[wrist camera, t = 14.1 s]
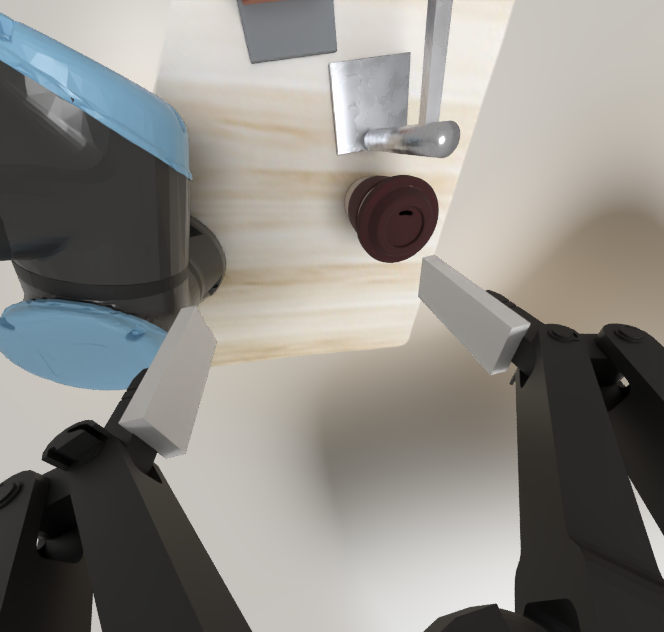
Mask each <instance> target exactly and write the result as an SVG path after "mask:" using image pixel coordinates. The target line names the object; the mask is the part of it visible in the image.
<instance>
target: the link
mask: <svg viewBox="0 0 664 632" xmlns="http://www.w3.org/2000/svg"><path fill="white" fill-rule="evenodd" d="M275 1H284V0H242V2H243V5H249V4H258V3H266V2H275Z"/></svg>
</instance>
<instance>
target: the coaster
mask: <svg viewBox="0 0 664 632" xmlns="http://www.w3.org/2000/svg"><path fill="white" fill-rule="evenodd" d="M237 3H238V7H239V11H240V16H241V20H242V24H243V29H244V33H245V37H246V42H247V46H248V50H249V54H250V59H251V63H259V62H267V61H274V60H282V59H289V58H296V57H304V56H311V55H319V54H326V53H333V52H336V51H337V42H336V30H335V17H334V4H333V0H284V1H275V2H266V3H258V4H249V5H243V2H242V0H237Z"/></svg>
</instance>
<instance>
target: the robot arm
mask: <svg viewBox="0 0 664 632" xmlns="http://www.w3.org/2000/svg"><path fill="white" fill-rule="evenodd" d="M192 177H193V176H192V173H191V172H190V169H189V143H188V132H187V129H186V126H185V124H184V122H183V120H182V118H181V117H180V115H179V114H178V113H177V111H176V110H175V109H174V108H173V107H172V106H171V105H169V104H168V103H167V102H166V101H164V100H163V99H161V98H159V97H158V96H156V95H154V94H153V93H151V92H149V91H148V90H146V89H145V88H143V87H141V86H139V85H138V84H136V83H134V82H132V81H130V80H129V79H127V78H125V77H123V76H122V75H120V74H118V73H116V72H114V71H112V70H111V69H109V68H107V67H105V66H103V65H101V64H99V63H98V62H96V61H94V60H92V59H90V58H88V57H87V56H84V55H83V54H81V53H79V52H77V51H75V50H73V49H71V48H69V47H67V46H66V45H64V44H62V43H60V42H58V41H56V40H54V39H52V38H50V37H49V36H47V35H45V34H43V33H41V32H39V31H37V30H34V29H33V28H31V27H29V26H27V25H25V24H23V23H20V22H17V21H14V20H12V19H11V18H9V17H8V16H6V15H4V14H2V13H0V261H5V260H11V261H12V263H13V266H14V268H15V271H16V273H17V275H18V279H19V281H20V283H21V286H22V288H23V291H24V299H23V301H21V302H19V303H17V304H13V305H11V306H9V307H7V308H6V309H5V310H4V312H3V313H2V316H1V318H0V351H1V352H2V353H3V354H4V355H5V356H6V358H8V359H9V360H10V361H11V362H13V363H14V364H16V365H17V366H19V367H21V368H22V369H24V370H26V371H28V372H30V373H32V374H34V375H37V376H39V377H42V378H45V379H49V380H52V381H54V382H57V383H60V384H64V385H69V386H73V387H78V388H84V389H92V390H123V389H127V392H125V394H124V395H123V397H122V401H120V402H119V404H118V405H117V407H116V409H115V411H114V412H113V414H112V415H111V417H110V419H109V421H108V423H107V424H106V426H105V427H104V428H103V427H101V426H100V425H98V424H97V423H95V422H94V421H93V420H85V421H81V422H78V423H76V424H74V425H72V426H70V427H68V428H67V429H65V430H64V431H63V432H61V433H60V434H59V435H57V436H56V437H55V438H54V439H53V440H52V441H51V442H50V443H49V444H48V446H47V448H46V449H45V451H44V452H43V455H42V460H43V461H45V462H47V463H49V464H51V465H53V466H55V467H57V468H55V469H53V470H51V471H49V472H47V473H45V474H43V475H41V474H39V473H36V472H34V471H31V470H28V471H22V472H20V473H18V474H15V475H13V476H11V477H10V478H8V479H7V480H5V481H4V482H2V483H1V484H0V632H91V617H92V600H93V599H92V598H93V594H94V598H95V603H96V607H97V611H98V616H99V619H100V624H101V628H102V632H252V631H251V629H250V627H249V626H248V623H247V622H246V620H245V618H244V616H243V615H242V613H241V611H240V609H239V608H238V606H237V604H236V602H235V601H234V599H233V597H232V595H231V593H230V592H229V590H228V588H227V586H226V585H225V583H224V581H223V579H222V578H221V576H220V574H219V573H218V571H217V569H216V567H215V565H214V564H213V562H212V560H211V558H210V557H209V555H208V553H207V551H206V550H205V548H204V546H203V544H202V542H201V541H200V539H199V538H198V536H197V534H196V532H195V530H194V528H193V527H192V525H191V523H190V521H189V520H188V518H187V516H186V514H185V513H184V511H183V509H182V507H181V506H180V504H179V502H178V500H177V498H176V497H175V495H174V493H173V491H172V490H171V488H170V486H169V485H168V483H167V481H166V479H165V477H164V476H163V474H162V472H161V470H160V469H159V467H158V466H157V465H156V464H155V463H154V459H155V457H156V454H157V453H159V454H160V455H162V456H163V457H164V458H166V459H167V458H171V457H175V456H178V455H183V454H186V451H187V447H188V443H189V440H190V436H191V433H192V429H193V426H194V422H195V418H196V415H197V411H198V408H199V404H200V401H201V397H202V393H203V390H204V387H205V383H206V380H207V376H208V372H209V369H210V365H211V362H212V358H213V355H214V351H215V348H216V344H217V340H216V339H215V337H214V335H213V334H212V332H211V330H210V329H209V327H208V325H207V323H206V322H205V320H204V318H203V317H202V315H201V313H200V312H199V310H198V308H197V307H198V304H199V303H201V302H202V301H204V300H205V299H207V298H208V297H210V296H211V295H212V294H213V293H214V292H215V291H216V290H217V289H218V288H219V286H220V284H221V282H222V280H223V277H224V274H225V270H226V260H225V255H224V252H223V249H222V247H221V245H220V243H219V241H218V240H217V238H216V237H215V236H214V234H213V233H212V232H211V231H210V230H209V229H208V228H207V227H206V226H205V225H203V224H202V223H201V222H199V221H198V220H196V219H195V218H193V217H191V216H190V180H192ZM418 297H419V298H420V299H421V300H422V301H423V302H424V303H425V305H426V306H427V307H428V308H429V309H430V310H431V311H432V312H433V313H434V314H435V315H436V316H437V318H438V319H439V320H440V321H441V322H442V323H443V324H444V325H445V326H446V327H447V328H448V329H449V330H450V332H451V333H452V334H453V335H454V336H455V337H456V338H457V339H458V340H459V341H460V342H461V343H462V345H463V346H464V347H465V348H466V349H467V350H468V351H469V352H470V353H471V354H472V355H473V357H474V358H475V359H476V360H477V361H478V362H479V363H480V364H481V365H482V366H483V367H484V368H485V369H486V371H487V372H488V373H489V374H490V375H493V374H497V373H501V372H505V371H507V369H508V367H509V365H510V363H511V362H513V363H514V364H515V365H516V366H517V367H518V368H517V370H516V372H515V373H514V375H513V377H512V379H511V381H510V384H511V385H513V383H514V381H516V411H517V443H518V473H519V507H520V539H521V556H520V561H519V564H518V567H517V570H516V576H515V612H511V611H508V610H504V609H499V608H498V605H497V604H490V605H482V606H475V607H469V608H466V609H463V610H460V611H457V612H454V613H451V614H448V615H445V616H442V617H439V618H438V619H437V620H435V621H434V622H433V623H432V624H431V625H430V626H429V627H428V628H427V629H426V630H425V631H424V632H664V579H663V578H662V576H661V573H660V571H659V569H658V566H657V563H656V560H655V557H654V554H653V551H652V548H651V545H650V541H649V538H648V536H647V532H646V529H645V526H644V523H643V520H642V517H641V514H640V511H639V508H638V505H637V502H636V498H635V495H634V492H633V489H632V486H631V483H630V480H629V478H630V479H631V481H632V483H633V484H634V486H635V488H636V490H637V491H638V493H639V495H640V496H641V498H642V500H643V501H644V503H645V505H646V507H647V508H648V510H649V512H650V513H651V515H652V517H653V518H654V520H655V522H656V523H657V525H658V527H659V528H660V530H661V532H662V533H663V535H664V347H663V346H662V345H661V344H660V343H659V342H658V341H657V340H655V339H654V338H653V337H652V336H650V335H649V334H648V333H646V332H645V331H642V330H640V329H638V328H636V327H633V326H629V325H624V324H608V325H605V326H604V327H603V328H602V329H601V331H600V332H599V333H598V334H579V333H577V332H576V331H575V330H573V329H570V328H569V327H566V326H562V325H558V324H543V323H542V322H540V321H539V320H537V319H536V318H534V317H533V316H532V315H530V314H529V313H527V312H526V311H524V310H523V309H521V308H519V307H517V306H516V305H515V304H514V303H512V302H509V300H508V299H507V298H505V297H504V296H502V295H501V294H498V293H496V292H493V291H490V290H486V291H485V290H483V289H482V288H480V287H479V286H477V285H476V284H475V283H473V282H472V281H471V280H469V279H468V278H466V277H465V276H464V275H462V274H461V273H459V272H458V271H456V270H455V269H454V268H452V267H451V266H449V265H448V264H447V263H445V262H444V261H442V260H441V259H440V258H438V257H437V256H435V255H433V256H428V257H423V259H422V267H421V276H420V285H419V293H418ZM623 377H625V378H626V379H627V380H628V382H629V385H628V386H627V387H626V386H624V385H623V383H622V382H621V381H620V380H621V379H622V378H623ZM628 476H629V477H628ZM37 538H38V539H39V541H38V545H37Z"/></svg>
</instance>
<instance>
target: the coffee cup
mask: <svg viewBox="0 0 664 632" xmlns="http://www.w3.org/2000/svg"><path fill="white" fill-rule="evenodd" d="M345 210H346V213H347V215H348V217H349V220H350V222H351V224H352V226H353V227H354V229H355V231H356V232H357V234H358V238H359V241H360V243H361V245H362V247H363V248H364V249H365V251H366V252H367V253H368V254H369V255H370V256H371V257H373V258H374V259H376V260H378V261H381V262H386V263H394V262H400V261H403V260H406V259H408V258H410V257H411V256H413V255H415V254H416V253H417V252H418V251H419V250H421V249H422V248H423V246H424V245H425V244H426V243H427V242H428V240H429V239H430V237H431V236H432V234H433V232H434V230H435V227H436V224H437V220H438V211H439V209H438V201H437V197H436V194H435V192H434V190H433V189H432V187H431V186H430V185H429V184H428V183H427V182H425V181H424V180H422V179H420V178H417V177H413V176H409V175H398V176H393V177H387V176H373V177H372V176H367V177H362V178H360V179H358V180H357V181H355V182H354V183H353V184H352V185H351V187H350V188H349V190H348V192H347V194H346V198H345Z"/></svg>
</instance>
